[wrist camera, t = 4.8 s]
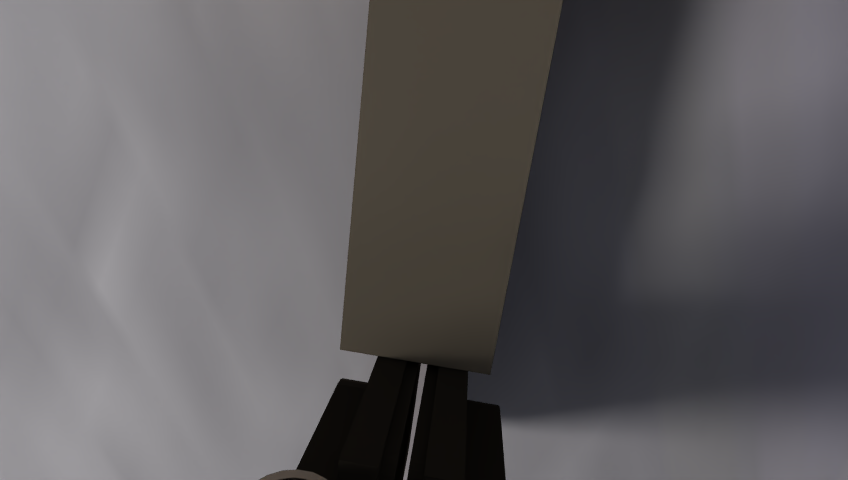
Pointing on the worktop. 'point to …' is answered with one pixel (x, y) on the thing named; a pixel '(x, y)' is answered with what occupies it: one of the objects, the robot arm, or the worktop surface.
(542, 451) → the worktop surface
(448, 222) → the plug
